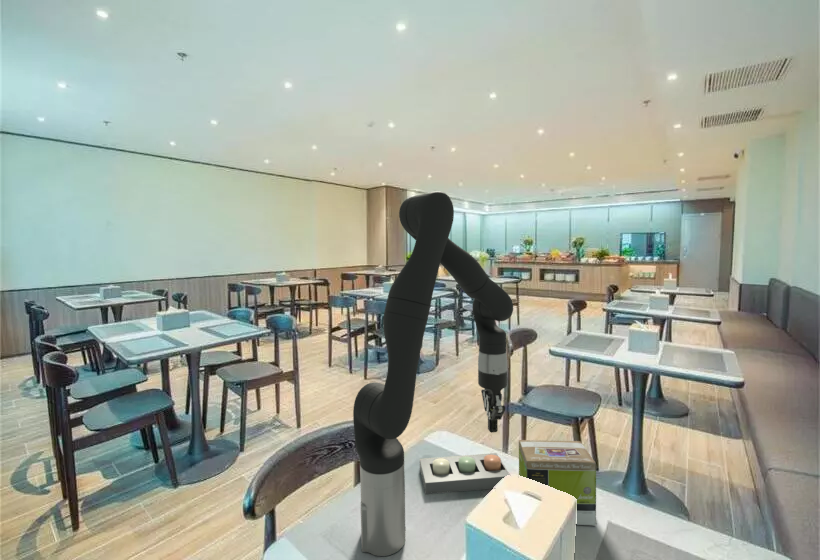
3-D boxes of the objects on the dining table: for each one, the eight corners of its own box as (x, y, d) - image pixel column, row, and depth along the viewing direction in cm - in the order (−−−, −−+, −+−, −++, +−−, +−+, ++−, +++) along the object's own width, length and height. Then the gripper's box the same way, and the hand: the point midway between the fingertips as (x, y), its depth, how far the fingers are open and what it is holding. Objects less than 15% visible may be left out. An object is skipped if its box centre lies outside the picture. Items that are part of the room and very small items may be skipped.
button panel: (425, 494, 95) (425, 482, 95) (419, 469, 106) (419, 458, 106) (510, 487, 98) (510, 475, 98) (496, 463, 109) (496, 453, 108)
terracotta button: (486, 473, 100) (487, 464, 100) (482, 464, 105) (482, 455, 104) (503, 472, 101) (503, 463, 101) (497, 463, 105) (497, 454, 105)
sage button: (460, 475, 100) (460, 466, 99) (457, 466, 104) (456, 457, 104) (477, 474, 100) (477, 465, 100) (472, 465, 104) (472, 455, 104)
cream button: (434, 477, 99) (434, 468, 99) (431, 468, 103) (431, 459, 103) (451, 476, 99) (451, 467, 99) (447, 466, 104) (447, 457, 103)
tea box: (580, 497, 93) (582, 439, 92) (596, 527, 83) (598, 463, 82) (517, 494, 95) (518, 437, 94) (525, 523, 85) (526, 460, 84)
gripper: (471, 361, 107) (472, 420, 108) (486, 377, 93) (486, 445, 95) (497, 359, 107) (497, 418, 109) (516, 375, 94) (515, 442, 96)
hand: (492, 431), depth 102 cm, fingers closed
